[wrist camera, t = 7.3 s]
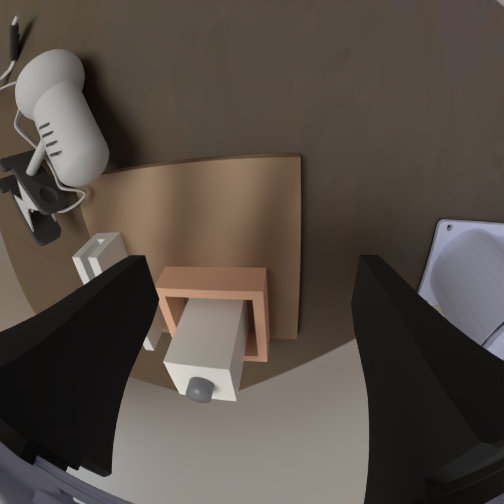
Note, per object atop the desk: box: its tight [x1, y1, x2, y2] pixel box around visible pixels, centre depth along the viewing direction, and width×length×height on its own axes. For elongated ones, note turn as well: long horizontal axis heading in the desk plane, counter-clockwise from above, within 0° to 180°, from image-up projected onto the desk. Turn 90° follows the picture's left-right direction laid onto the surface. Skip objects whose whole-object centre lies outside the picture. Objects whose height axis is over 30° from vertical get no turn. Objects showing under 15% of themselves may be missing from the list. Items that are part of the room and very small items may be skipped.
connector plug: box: [163, 298, 249, 403], centre depth 18 cm, size 4×4×8 cm
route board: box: [75, 153, 301, 339], centre depth 20 cm, size 16×15×1 cm
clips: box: [72, 232, 166, 351], centre depth 20 cm, size 4×9×3 cm, turn 4°
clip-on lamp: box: [0, 15, 109, 246], centre depth 13 cm, size 12×6×18 cm
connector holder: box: [155, 267, 270, 362], centre depth 21 cm, size 7×7×2 cm
